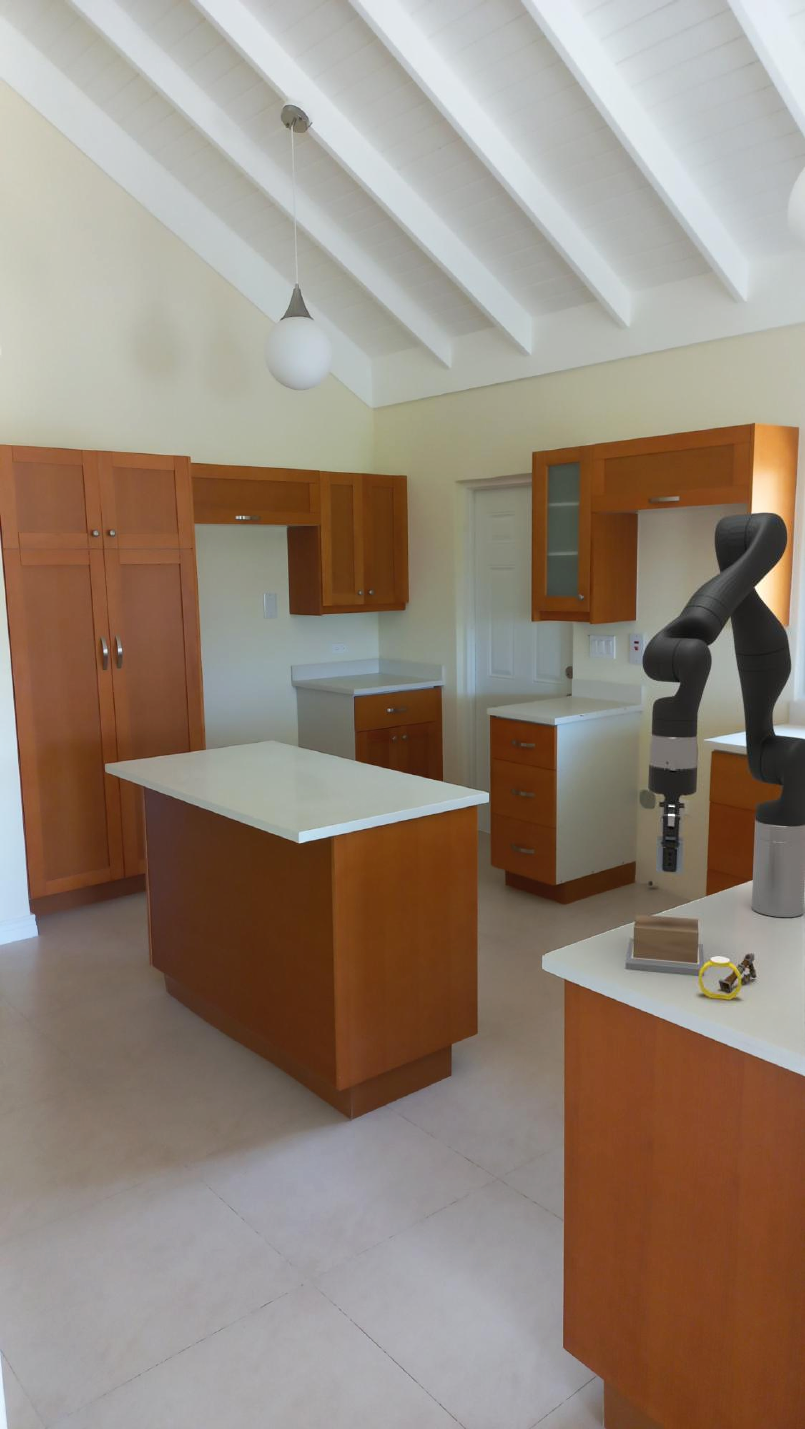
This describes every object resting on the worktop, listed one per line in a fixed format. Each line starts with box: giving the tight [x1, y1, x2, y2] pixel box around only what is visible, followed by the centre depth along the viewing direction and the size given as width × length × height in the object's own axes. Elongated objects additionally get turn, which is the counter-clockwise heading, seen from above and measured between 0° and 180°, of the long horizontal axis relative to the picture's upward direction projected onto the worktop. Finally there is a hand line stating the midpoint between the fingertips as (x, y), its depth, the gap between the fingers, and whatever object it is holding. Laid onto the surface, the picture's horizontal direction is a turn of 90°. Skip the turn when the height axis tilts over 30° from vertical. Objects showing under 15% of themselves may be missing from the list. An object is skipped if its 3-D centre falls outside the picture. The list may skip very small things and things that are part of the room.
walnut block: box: [633, 914, 700, 963], centre depth 164 cm, size 7×10×5 cm
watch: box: [698, 955, 742, 1001], centre depth 148 cm, size 6×3×6 cm, turn 73°
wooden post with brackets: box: [718, 952, 757, 993], centre depth 153 cm, size 2×8×4 cm, turn 128°
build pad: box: [625, 937, 705, 977], centre depth 164 cm, size 12×12×1 cm
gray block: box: [655, 835, 684, 875], centre depth 162 cm, size 4×4×5 cm
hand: (669, 867), depth 162 cm, fingers closed on gray block, 4 cm apart
